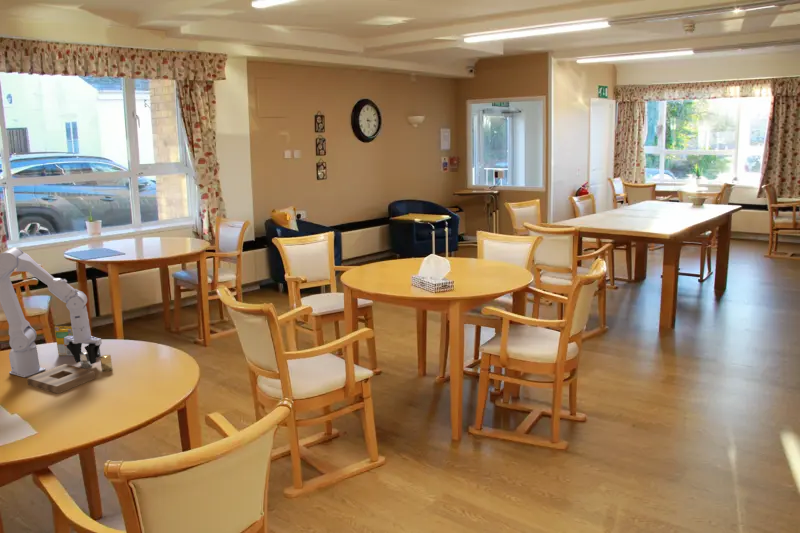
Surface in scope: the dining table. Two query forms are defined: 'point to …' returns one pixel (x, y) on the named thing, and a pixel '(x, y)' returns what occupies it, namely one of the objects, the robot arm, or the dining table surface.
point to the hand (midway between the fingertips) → (86, 362)
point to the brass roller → (106, 363)
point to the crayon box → (60, 339)
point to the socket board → (61, 378)
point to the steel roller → (85, 360)
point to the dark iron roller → (98, 353)
